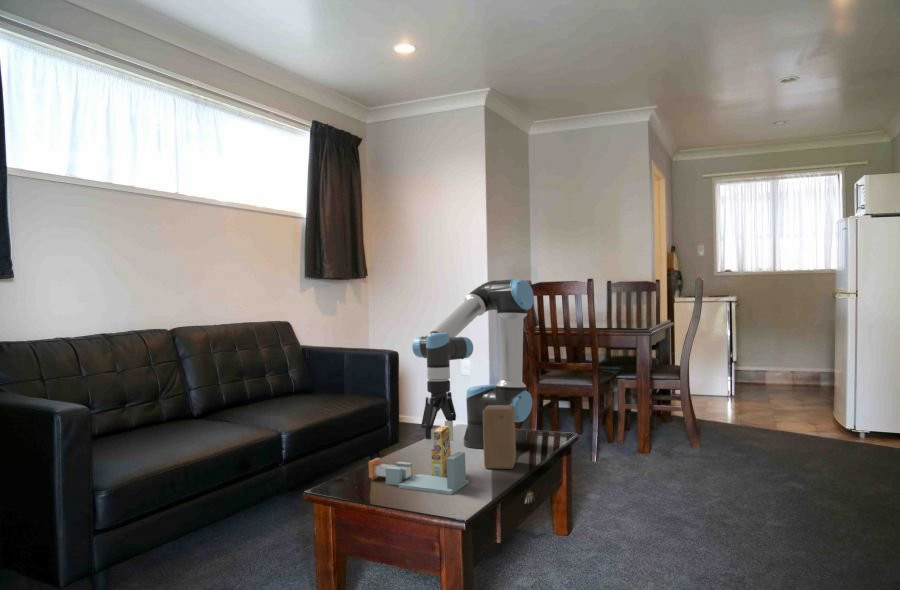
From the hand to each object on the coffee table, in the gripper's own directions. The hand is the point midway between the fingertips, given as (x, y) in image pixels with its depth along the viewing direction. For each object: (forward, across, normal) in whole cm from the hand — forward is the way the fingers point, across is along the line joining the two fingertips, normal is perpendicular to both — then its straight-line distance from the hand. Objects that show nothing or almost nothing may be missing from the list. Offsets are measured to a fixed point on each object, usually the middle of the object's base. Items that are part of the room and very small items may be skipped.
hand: (439, 444), depth 198 cm
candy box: (+10, -1, 0) cm, 10 cm away
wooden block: (+10, -18, +14) cm, 25 cm away
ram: (+9, +10, -13) cm, 19 cm away
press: (+10, +10, 0) cm, 14 cm away
